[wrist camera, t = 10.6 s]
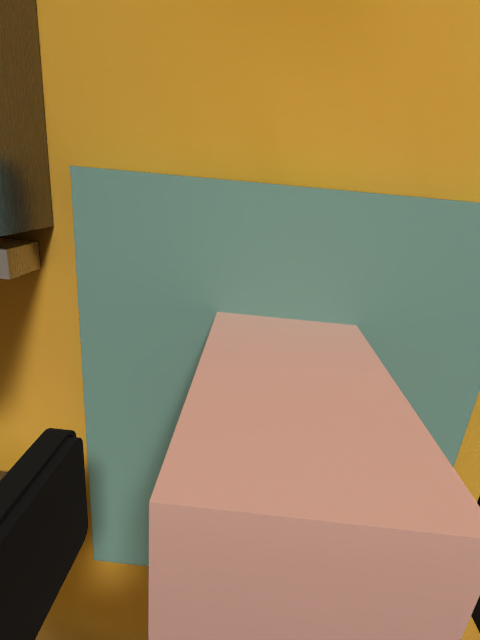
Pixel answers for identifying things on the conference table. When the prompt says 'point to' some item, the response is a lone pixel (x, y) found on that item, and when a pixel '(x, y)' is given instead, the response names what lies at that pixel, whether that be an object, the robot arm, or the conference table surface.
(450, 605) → the pink rectangular prism
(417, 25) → the conference table surface
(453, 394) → the pad
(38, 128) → the dispenser
